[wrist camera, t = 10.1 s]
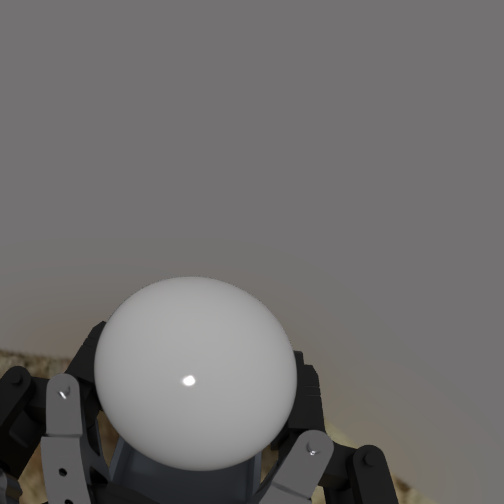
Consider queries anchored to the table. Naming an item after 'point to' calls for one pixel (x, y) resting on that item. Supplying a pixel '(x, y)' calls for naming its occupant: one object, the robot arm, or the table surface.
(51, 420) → the robot arm
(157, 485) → the walled box
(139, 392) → the lightbulb
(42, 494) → the table surface
